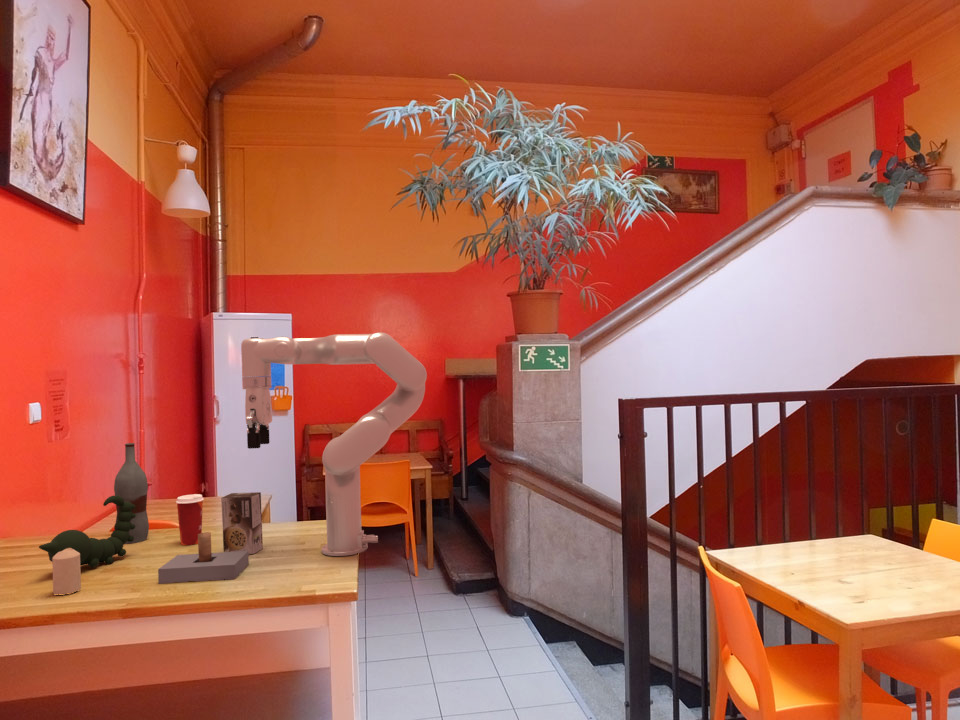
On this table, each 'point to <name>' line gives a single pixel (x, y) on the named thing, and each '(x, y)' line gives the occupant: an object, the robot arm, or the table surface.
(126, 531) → the toy figurine
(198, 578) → the hole block
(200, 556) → the walnut peg
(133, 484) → the bottle
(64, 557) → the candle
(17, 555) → the table surface
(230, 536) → the coffee box
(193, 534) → the paper cup
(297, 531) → the table surface
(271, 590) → the table surface
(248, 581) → the table surface
